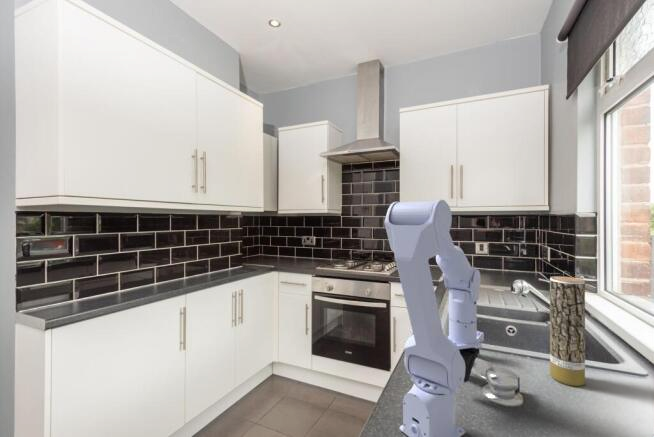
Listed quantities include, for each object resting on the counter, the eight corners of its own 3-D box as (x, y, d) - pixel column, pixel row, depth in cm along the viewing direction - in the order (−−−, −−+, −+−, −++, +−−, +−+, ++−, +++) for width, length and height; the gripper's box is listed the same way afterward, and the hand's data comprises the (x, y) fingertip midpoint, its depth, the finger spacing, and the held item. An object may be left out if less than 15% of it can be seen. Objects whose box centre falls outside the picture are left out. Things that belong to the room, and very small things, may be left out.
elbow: (522, 387, 69) (522, 369, 69) (509, 396, 65) (509, 377, 65) (460, 361, 81) (460, 346, 81) (446, 368, 78) (446, 352, 78)
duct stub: (512, 411, 64) (512, 394, 64) (475, 393, 71) (475, 378, 71) (531, 397, 69) (531, 381, 69) (494, 381, 76) (494, 367, 76)
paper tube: (591, 389, 72) (591, 282, 72) (558, 386, 74) (558, 281, 73) (574, 374, 79) (574, 276, 79) (544, 371, 80) (544, 276, 80)
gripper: (460, 331, 62) (461, 399, 62) (496, 317, 70) (497, 377, 70) (430, 322, 68) (431, 383, 68) (467, 310, 76) (467, 365, 76)
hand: (462, 379), depth 69 cm, fingers closed
